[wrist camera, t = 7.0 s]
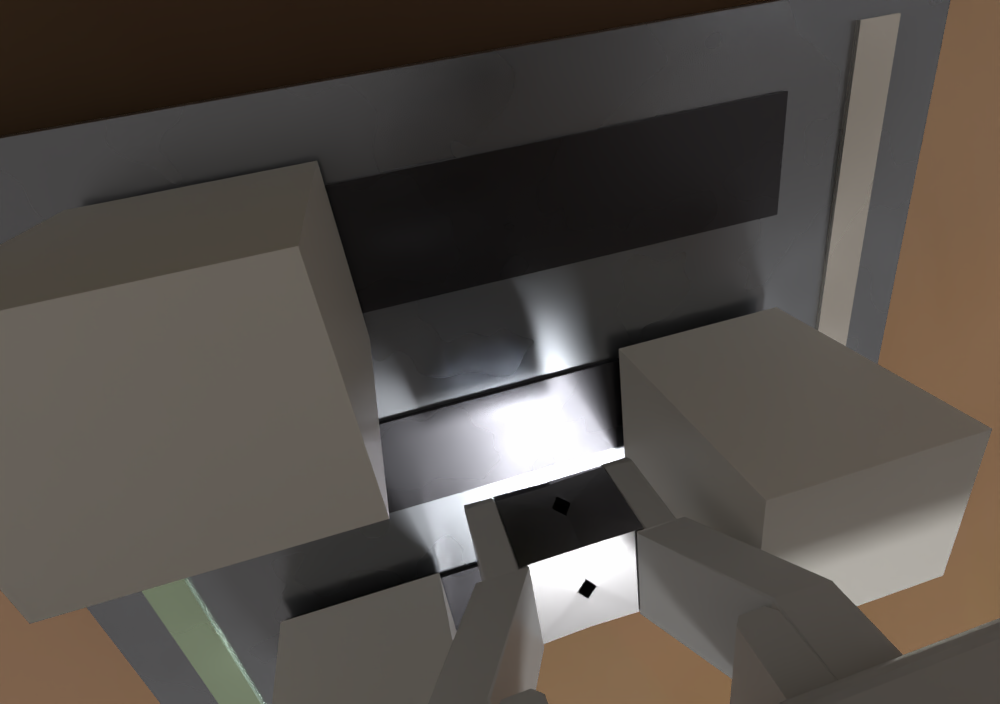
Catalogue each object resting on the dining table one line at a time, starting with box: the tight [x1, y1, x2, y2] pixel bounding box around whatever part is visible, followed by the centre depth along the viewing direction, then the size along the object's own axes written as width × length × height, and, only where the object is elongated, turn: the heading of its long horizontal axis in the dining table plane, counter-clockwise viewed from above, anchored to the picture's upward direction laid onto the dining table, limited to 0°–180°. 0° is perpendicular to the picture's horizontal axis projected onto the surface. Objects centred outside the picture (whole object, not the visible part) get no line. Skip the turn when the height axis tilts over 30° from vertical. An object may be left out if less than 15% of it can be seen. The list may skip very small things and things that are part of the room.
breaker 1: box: [0, 161, 390, 624], centre depth 7 cm, size 4×3×4 cm
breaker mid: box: [619, 307, 992, 606], centre depth 10 cm, size 4×3×4 cm
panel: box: [0, 0, 950, 704], centre depth 13 cm, size 18×14×2 cm
